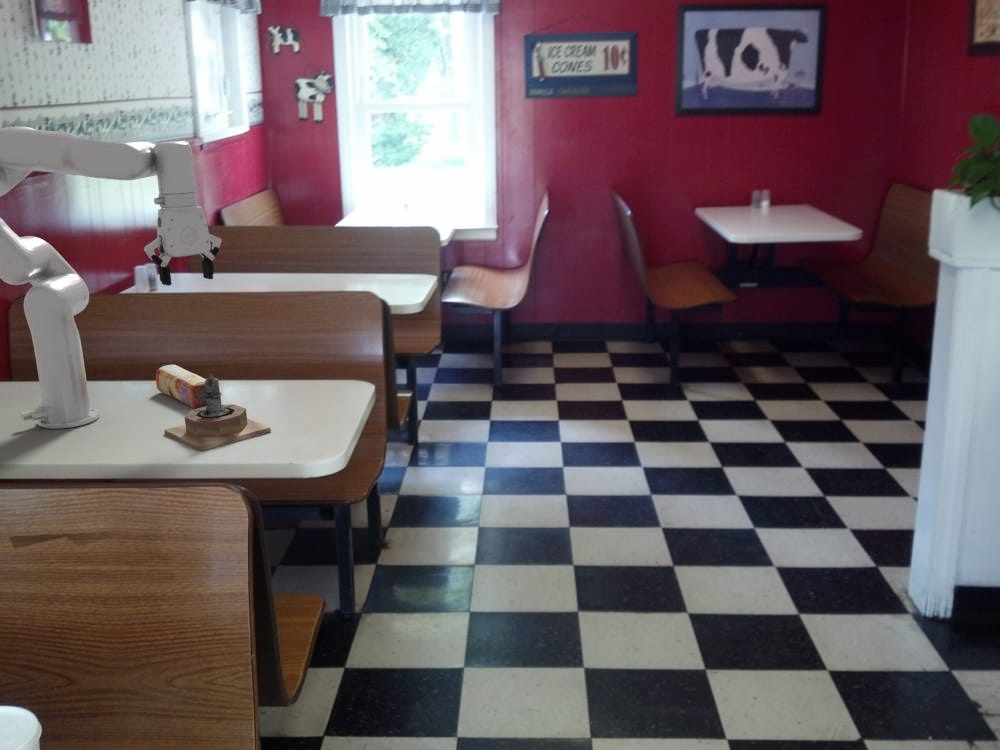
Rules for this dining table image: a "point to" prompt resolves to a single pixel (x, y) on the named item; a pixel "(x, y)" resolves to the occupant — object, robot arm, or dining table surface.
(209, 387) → the grey upright turned piece
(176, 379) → the snack package
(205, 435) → the collar
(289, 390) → the dining table surface
